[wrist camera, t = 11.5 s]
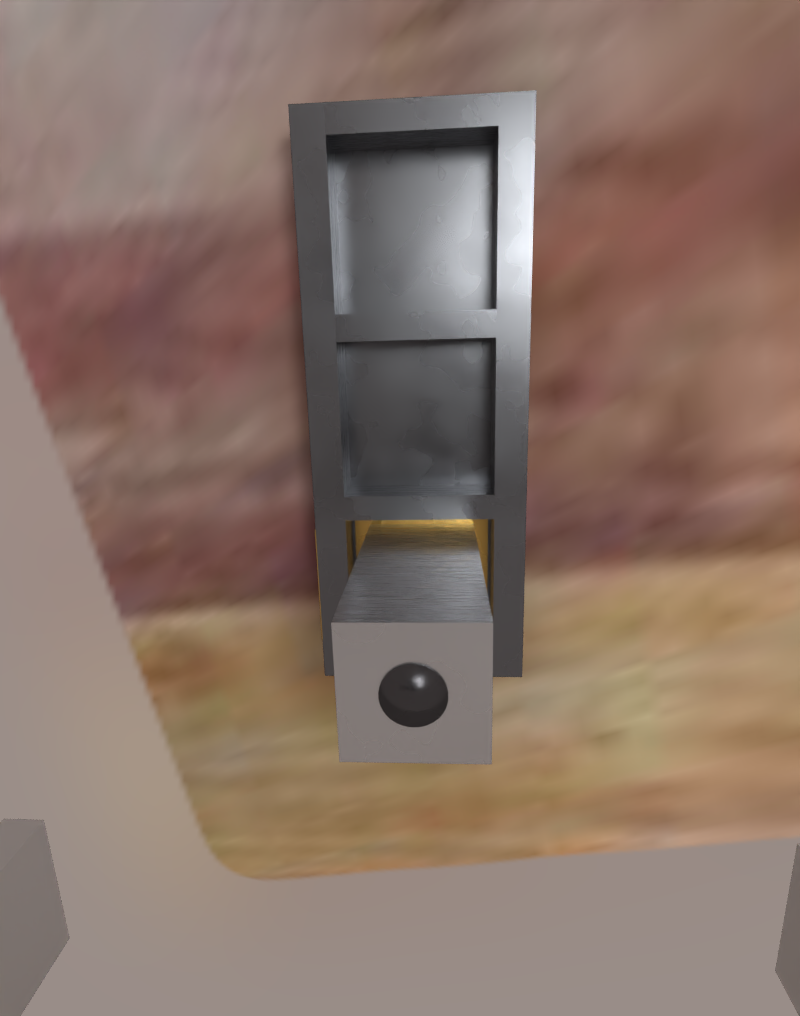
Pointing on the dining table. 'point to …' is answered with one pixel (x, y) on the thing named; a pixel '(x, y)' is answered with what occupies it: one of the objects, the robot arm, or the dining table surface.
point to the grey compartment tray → (418, 329)
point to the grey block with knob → (415, 649)
